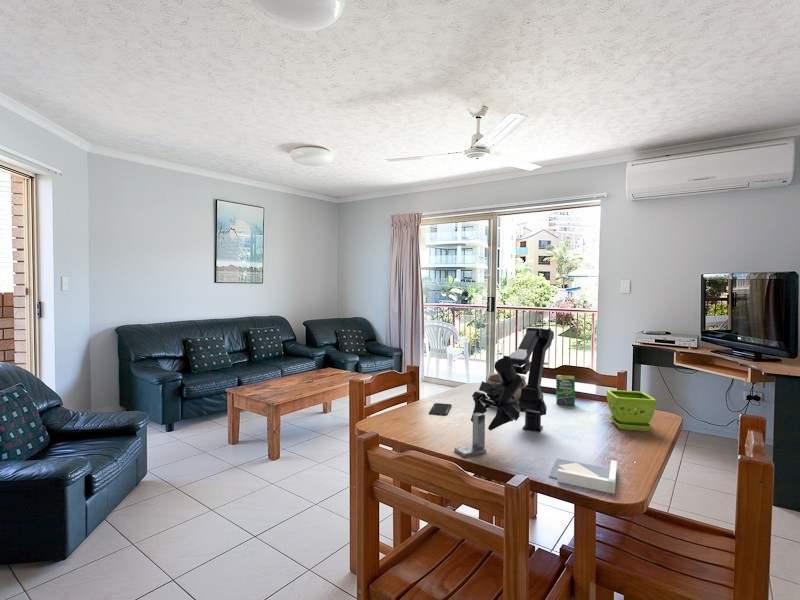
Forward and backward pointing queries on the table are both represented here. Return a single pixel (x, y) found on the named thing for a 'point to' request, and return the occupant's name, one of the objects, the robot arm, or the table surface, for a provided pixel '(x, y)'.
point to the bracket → (475, 438)
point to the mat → (578, 469)
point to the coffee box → (565, 390)
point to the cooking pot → (496, 379)
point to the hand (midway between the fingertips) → (480, 425)
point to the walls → (590, 479)
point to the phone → (440, 409)
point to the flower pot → (631, 409)
